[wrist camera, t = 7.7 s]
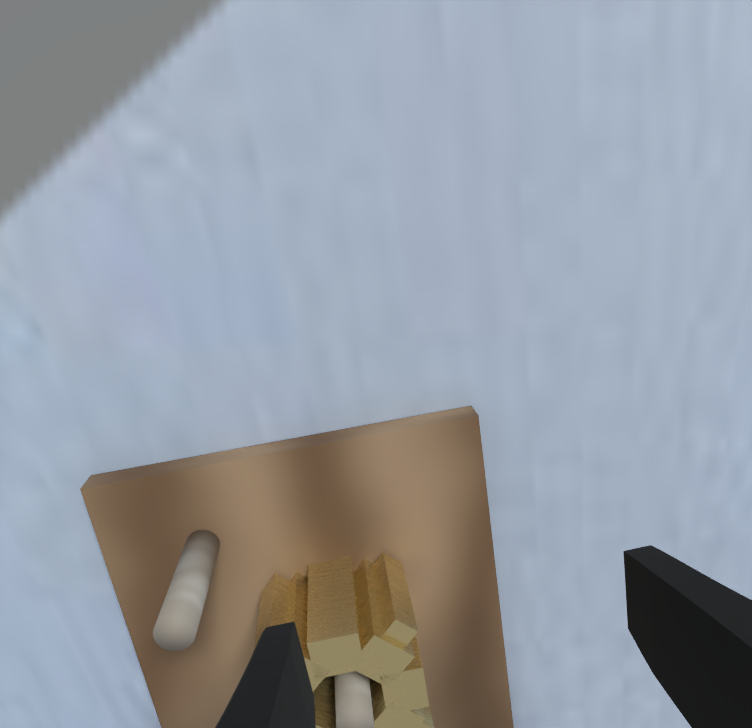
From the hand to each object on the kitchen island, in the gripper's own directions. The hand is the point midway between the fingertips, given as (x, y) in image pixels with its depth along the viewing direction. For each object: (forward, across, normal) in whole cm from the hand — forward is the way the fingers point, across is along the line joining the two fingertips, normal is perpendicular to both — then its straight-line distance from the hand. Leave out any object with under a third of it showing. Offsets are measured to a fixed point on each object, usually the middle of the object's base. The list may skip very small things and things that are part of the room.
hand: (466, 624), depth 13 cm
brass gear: (+9, +4, +6) cm, 12 cm away
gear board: (+10, +4, +10) cm, 15 cm away
